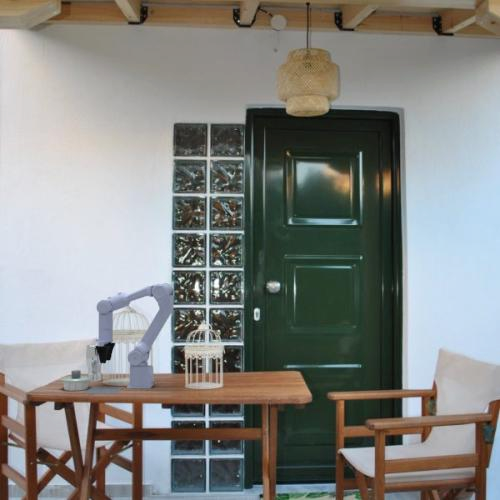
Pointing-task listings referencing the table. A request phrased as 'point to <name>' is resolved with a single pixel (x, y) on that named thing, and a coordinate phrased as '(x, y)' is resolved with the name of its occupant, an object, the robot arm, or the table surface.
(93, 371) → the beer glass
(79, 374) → the lid
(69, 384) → the bowl
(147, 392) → the table surface
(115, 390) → the mat
